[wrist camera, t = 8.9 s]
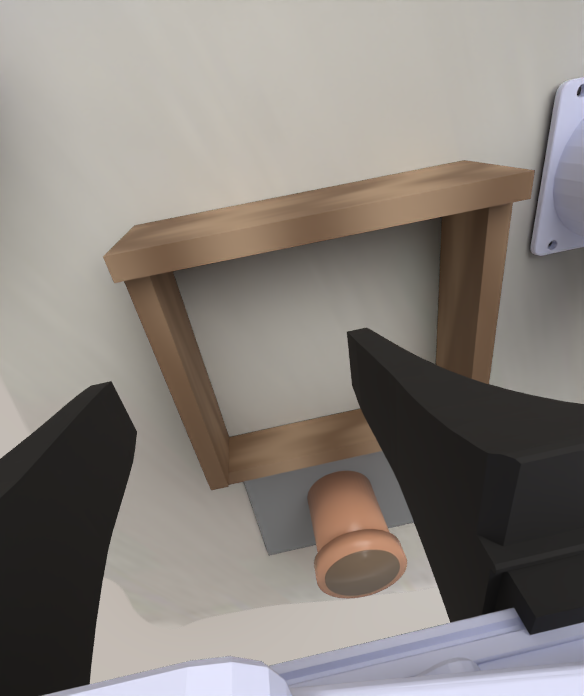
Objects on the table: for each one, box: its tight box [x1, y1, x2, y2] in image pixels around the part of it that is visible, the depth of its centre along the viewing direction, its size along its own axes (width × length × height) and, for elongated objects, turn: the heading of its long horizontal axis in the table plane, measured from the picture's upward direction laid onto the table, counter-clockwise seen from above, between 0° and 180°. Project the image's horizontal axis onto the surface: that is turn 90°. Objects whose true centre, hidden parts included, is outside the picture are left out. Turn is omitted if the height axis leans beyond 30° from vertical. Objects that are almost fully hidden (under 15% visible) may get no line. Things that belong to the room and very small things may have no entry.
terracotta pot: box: [307, 471, 407, 598], centre depth 26 cm, size 6×6×6 cm
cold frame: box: [103, 160, 535, 490], centre depth 20 cm, size 16×15×5 cm
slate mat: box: [244, 451, 414, 555], centre depth 29 cm, size 14×10×1 cm
